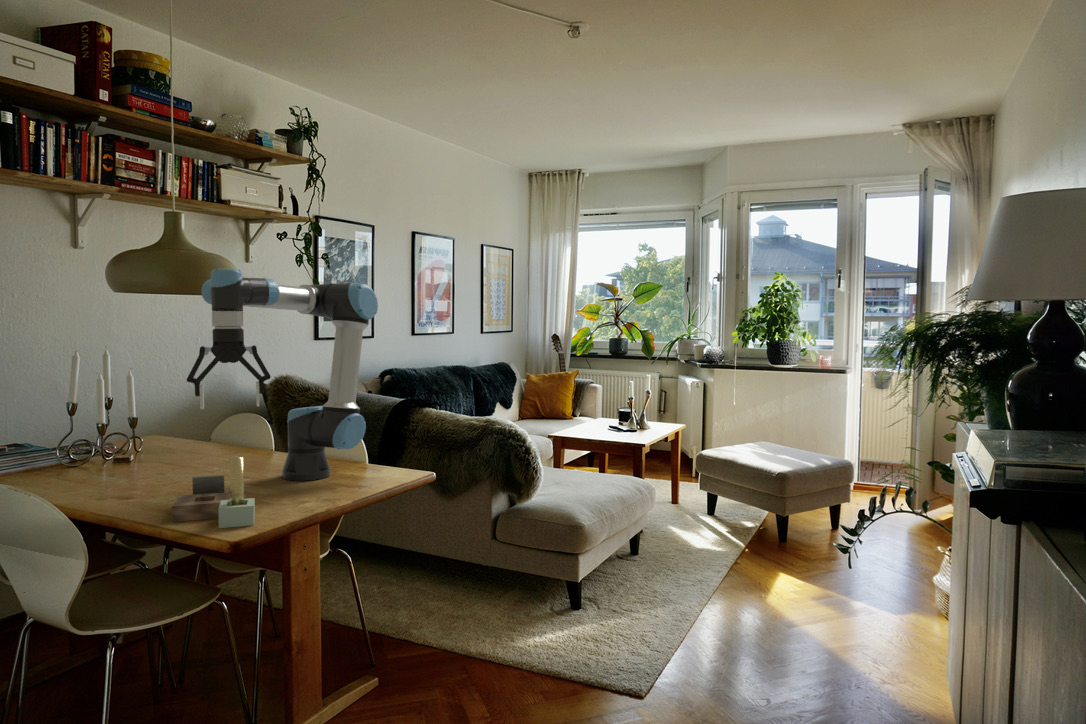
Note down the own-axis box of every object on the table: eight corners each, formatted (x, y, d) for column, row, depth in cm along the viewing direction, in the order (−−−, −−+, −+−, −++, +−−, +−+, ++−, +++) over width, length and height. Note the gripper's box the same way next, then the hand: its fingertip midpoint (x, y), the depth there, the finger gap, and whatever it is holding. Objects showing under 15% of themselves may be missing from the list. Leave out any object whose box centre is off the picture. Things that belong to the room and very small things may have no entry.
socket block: (234, 506, 189) (234, 491, 189) (232, 516, 179) (232, 501, 179) (178, 510, 184) (177, 495, 184) (172, 521, 174) (171, 506, 174)
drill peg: (244, 517, 177) (243, 455, 176) (243, 520, 174) (243, 458, 173) (230, 518, 175) (230, 456, 174) (230, 521, 172) (229, 458, 171)
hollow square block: (254, 516, 180) (254, 497, 179) (253, 525, 172) (253, 505, 172) (221, 519, 177) (221, 500, 177) (218, 528, 169) (218, 508, 169)
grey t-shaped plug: (224, 500, 195) (224, 475, 194) (221, 509, 185) (221, 483, 185) (193, 502, 192) (192, 476, 191) (188, 512, 182) (188, 485, 182)
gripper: (278, 326, 189) (280, 402, 191) (176, 327, 179) (179, 407, 181) (279, 327, 182) (281, 406, 184) (173, 328, 173) (176, 411, 174)
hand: (230, 407), depth 183 cm, fingers open, 13 cm apart
